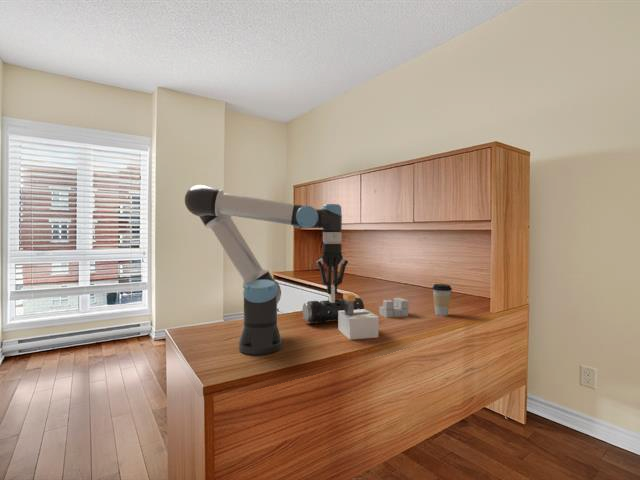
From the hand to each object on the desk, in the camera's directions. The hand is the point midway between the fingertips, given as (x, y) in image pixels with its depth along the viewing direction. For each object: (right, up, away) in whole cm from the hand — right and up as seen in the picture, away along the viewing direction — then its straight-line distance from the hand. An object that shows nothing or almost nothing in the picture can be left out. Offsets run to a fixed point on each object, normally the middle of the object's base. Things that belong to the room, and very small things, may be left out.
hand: (332, 301), depth 131 cm
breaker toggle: (+7, -5, +2) cm, 9 cm away
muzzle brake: (+1, -14, +21) cm, 25 cm away
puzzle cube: (+32, -13, +36) cm, 50 cm away
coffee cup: (+57, -13, +35) cm, 68 cm away
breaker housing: (+11, -13, +3) cm, 17 cm away
